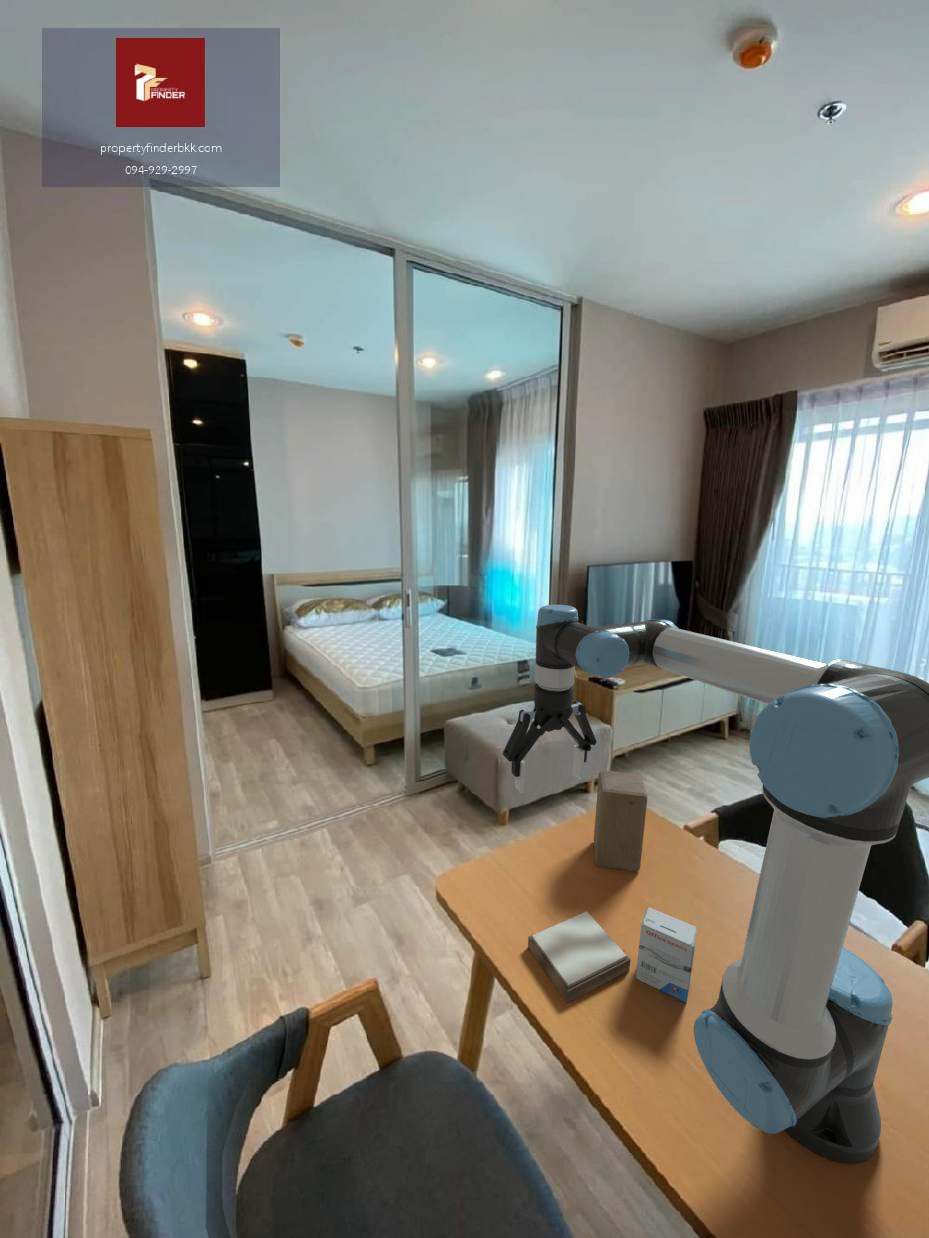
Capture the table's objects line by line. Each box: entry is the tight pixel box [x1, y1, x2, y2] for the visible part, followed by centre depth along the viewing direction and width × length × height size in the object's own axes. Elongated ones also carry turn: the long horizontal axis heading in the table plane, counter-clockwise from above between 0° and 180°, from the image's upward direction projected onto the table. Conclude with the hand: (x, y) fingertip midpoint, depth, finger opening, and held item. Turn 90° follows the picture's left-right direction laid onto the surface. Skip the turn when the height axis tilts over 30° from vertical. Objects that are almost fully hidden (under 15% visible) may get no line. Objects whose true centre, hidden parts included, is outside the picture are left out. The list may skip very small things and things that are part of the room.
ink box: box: [635, 906, 698, 1003], centre depth 86 cm, size 8×5×12 cm, turn 58°
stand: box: [527, 910, 632, 1004], centre depth 91 cm, size 12×14×3 cm
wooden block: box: [593, 770, 648, 873], centre depth 116 cm, size 10×10×20 cm
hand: (549, 783), depth 100 cm, fingers open, 13 cm apart
